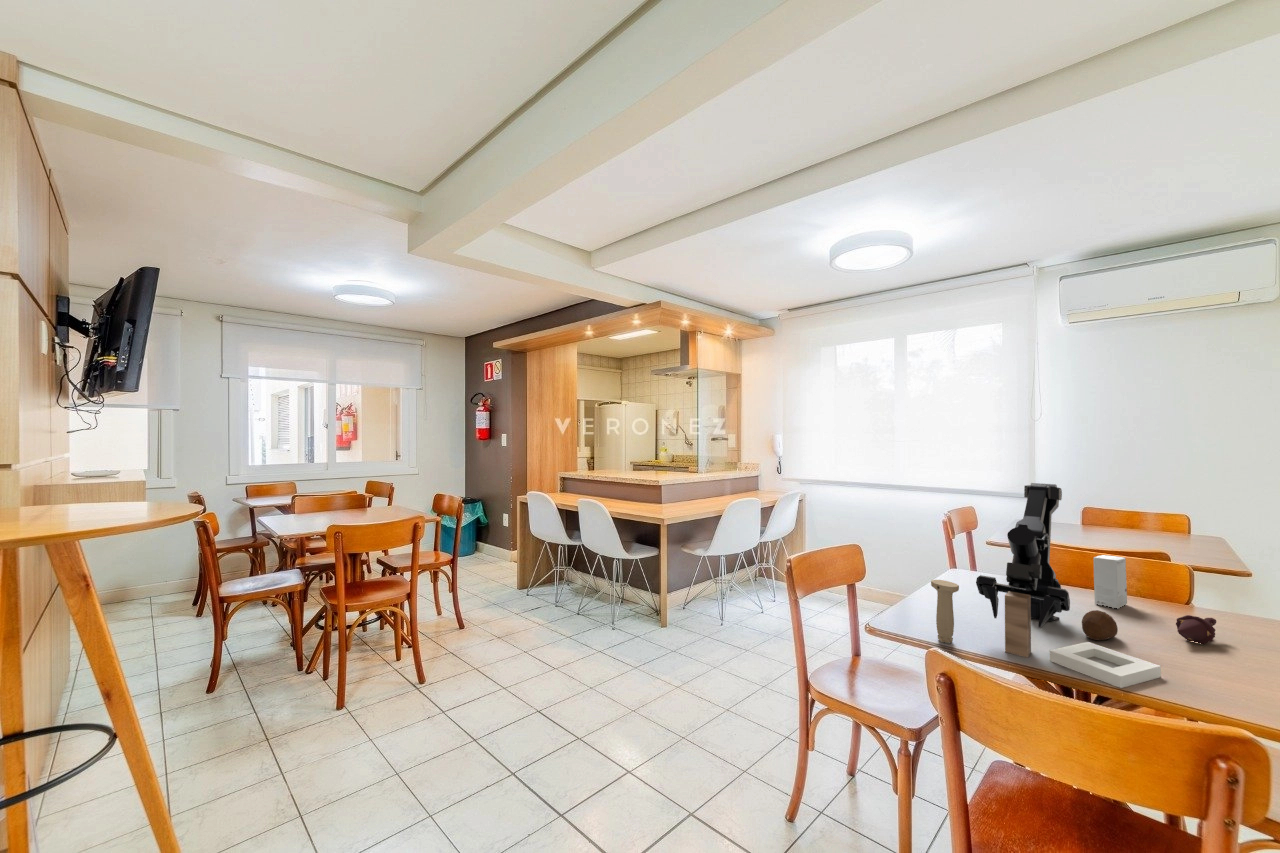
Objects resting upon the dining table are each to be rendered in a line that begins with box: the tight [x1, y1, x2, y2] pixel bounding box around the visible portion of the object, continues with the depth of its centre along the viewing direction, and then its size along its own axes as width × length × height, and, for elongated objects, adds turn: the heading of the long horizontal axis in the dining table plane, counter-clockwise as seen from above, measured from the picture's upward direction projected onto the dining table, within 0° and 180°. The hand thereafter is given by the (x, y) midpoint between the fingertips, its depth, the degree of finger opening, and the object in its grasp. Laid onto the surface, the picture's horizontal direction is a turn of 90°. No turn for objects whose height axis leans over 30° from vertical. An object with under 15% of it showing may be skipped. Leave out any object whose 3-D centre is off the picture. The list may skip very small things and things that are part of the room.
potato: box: [1081, 609, 1119, 641], centre depth 138 cm, size 7×10×7 cm
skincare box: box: [1093, 554, 1128, 610], centre depth 164 cm, size 8×6×15 cm
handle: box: [930, 579, 960, 644], centre depth 136 cm, size 5×6×15 cm
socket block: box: [1049, 641, 1162, 689], centre depth 120 cm, size 14×14×2 cm
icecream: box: [1175, 614, 1217, 645], centre depth 135 cm, size 7×7×15 cm
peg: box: [1004, 591, 1032, 659], centre depth 129 cm, size 4×4×14 cm
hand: (1016, 622), depth 128 cm, fingers open, 9 cm apart
